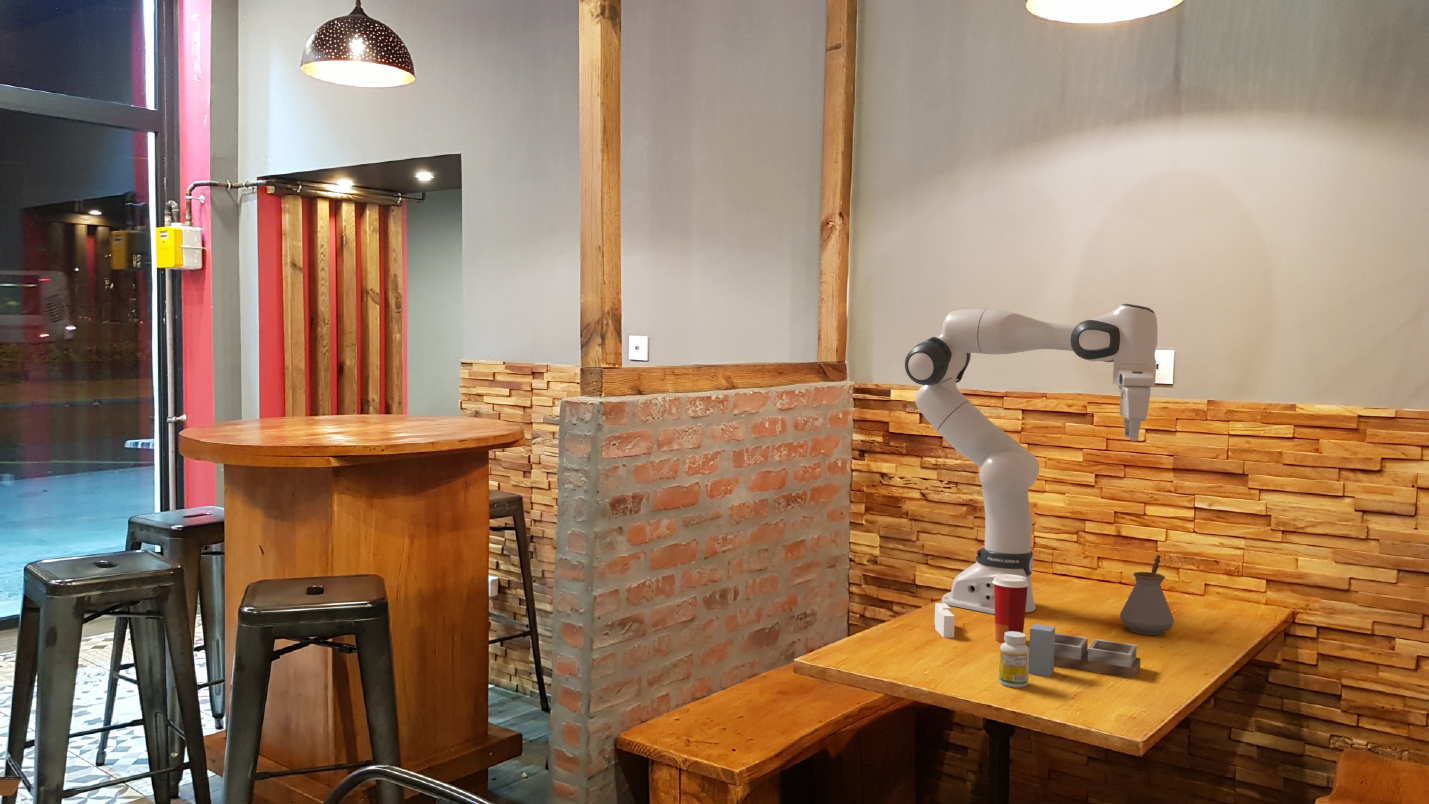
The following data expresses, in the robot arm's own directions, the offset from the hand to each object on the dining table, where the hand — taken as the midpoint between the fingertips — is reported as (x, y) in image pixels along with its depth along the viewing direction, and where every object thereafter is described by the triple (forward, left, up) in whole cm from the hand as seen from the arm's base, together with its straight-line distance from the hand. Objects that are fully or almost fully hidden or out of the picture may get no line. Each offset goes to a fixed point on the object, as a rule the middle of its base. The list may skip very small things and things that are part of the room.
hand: (1131, 438), depth 235 cm
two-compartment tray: (-3, -30, -44) cm, 53 cm away
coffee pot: (+4, +10, -44) cm, 46 cm away
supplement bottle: (-13, -50, -44) cm, 68 cm away
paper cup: (-21, -21, -44) cm, 53 cm away
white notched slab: (-35, -20, -45) cm, 60 cm away
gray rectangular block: (-10, -40, -44) cm, 60 cm away
